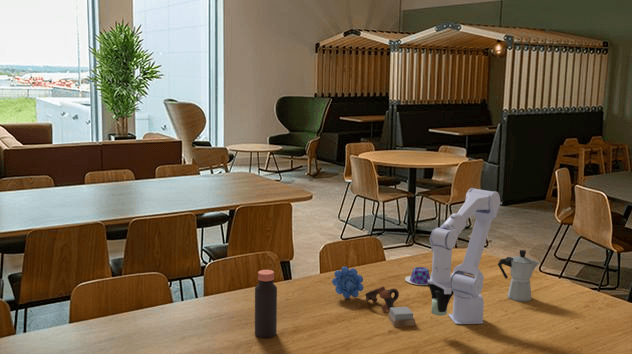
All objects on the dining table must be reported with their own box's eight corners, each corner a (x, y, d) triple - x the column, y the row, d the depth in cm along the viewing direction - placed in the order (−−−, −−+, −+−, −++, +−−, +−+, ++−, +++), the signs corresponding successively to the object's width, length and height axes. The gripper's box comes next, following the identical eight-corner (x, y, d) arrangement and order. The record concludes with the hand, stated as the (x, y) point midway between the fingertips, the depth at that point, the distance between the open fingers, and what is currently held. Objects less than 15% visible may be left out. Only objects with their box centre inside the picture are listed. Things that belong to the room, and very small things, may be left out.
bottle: (265, 327, 208) (265, 267, 204) (281, 333, 203) (281, 271, 200) (250, 334, 202) (250, 272, 199) (265, 340, 198) (266, 277, 195)
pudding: (402, 284, 252) (403, 271, 251) (407, 275, 263) (408, 262, 262) (434, 288, 249) (434, 275, 248) (437, 278, 260) (438, 266, 259)
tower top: (406, 312, 218) (407, 306, 217) (412, 319, 212) (413, 313, 212) (389, 313, 217) (389, 307, 216) (395, 320, 211) (395, 314, 210)
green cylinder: (444, 309, 208) (444, 297, 207) (448, 315, 203) (449, 303, 202) (429, 310, 207) (429, 298, 206) (433, 315, 202) (434, 303, 202)
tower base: (408, 318, 219) (409, 311, 218) (414, 327, 212) (415, 319, 211) (388, 319, 218) (388, 312, 217) (393, 328, 211) (394, 320, 210)
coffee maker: (534, 294, 243) (538, 247, 240) (540, 303, 234) (544, 254, 231) (493, 292, 244) (496, 245, 241) (497, 300, 236) (500, 252, 233)
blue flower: (334, 303, 230) (335, 270, 228) (330, 296, 236) (331, 264, 234) (366, 301, 232) (367, 269, 230) (361, 295, 239) (362, 263, 237)
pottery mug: (377, 315, 221) (367, 292, 222) (368, 318, 230) (358, 295, 231) (407, 302, 225) (397, 280, 227) (396, 305, 234) (387, 283, 235)
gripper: (422, 259, 209) (420, 300, 211) (436, 274, 195) (434, 317, 197) (443, 259, 210) (441, 299, 212) (459, 273, 196) (456, 316, 198)
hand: (439, 308), depth 205 cm, fingers closed on green cylinder, 5 cm apart
